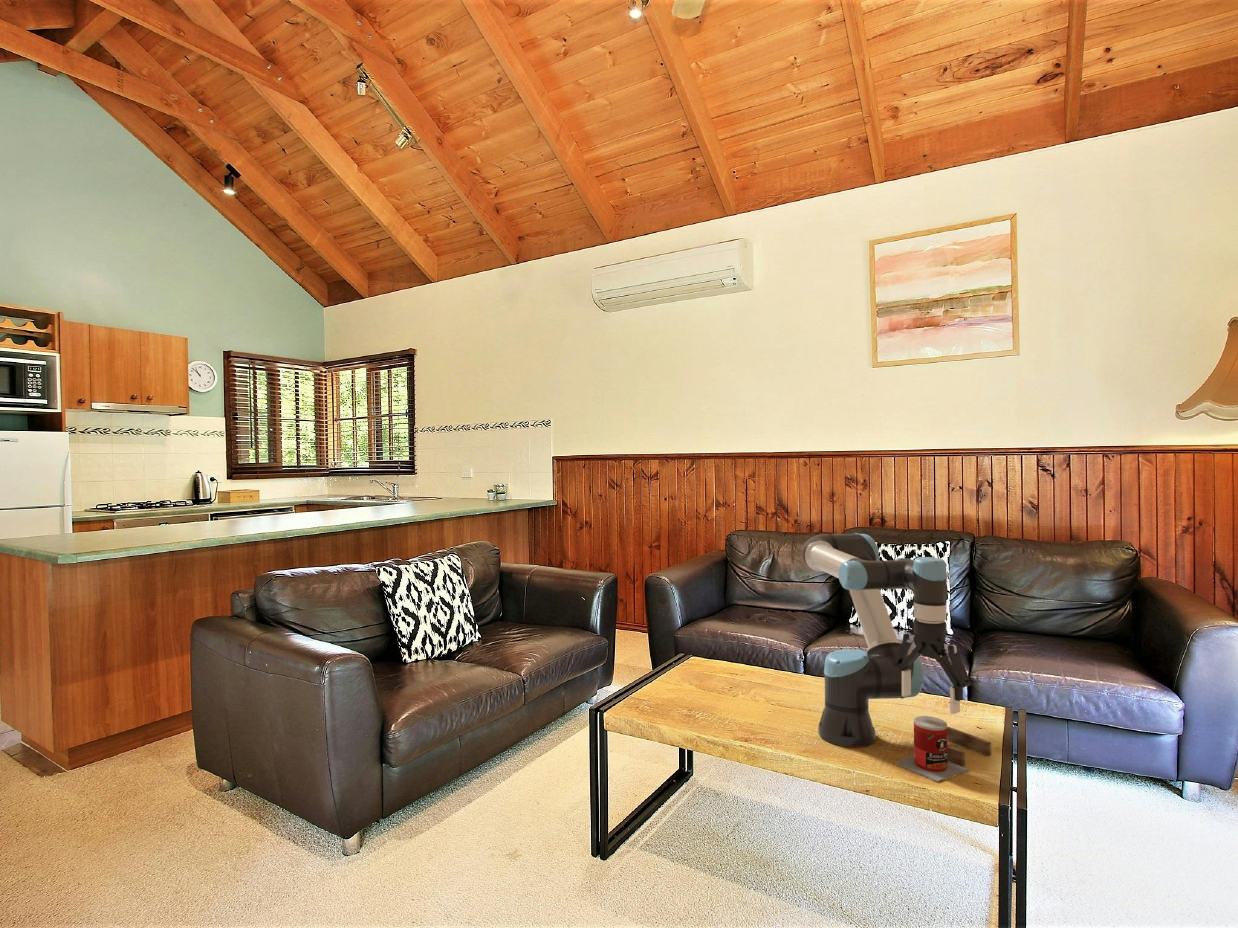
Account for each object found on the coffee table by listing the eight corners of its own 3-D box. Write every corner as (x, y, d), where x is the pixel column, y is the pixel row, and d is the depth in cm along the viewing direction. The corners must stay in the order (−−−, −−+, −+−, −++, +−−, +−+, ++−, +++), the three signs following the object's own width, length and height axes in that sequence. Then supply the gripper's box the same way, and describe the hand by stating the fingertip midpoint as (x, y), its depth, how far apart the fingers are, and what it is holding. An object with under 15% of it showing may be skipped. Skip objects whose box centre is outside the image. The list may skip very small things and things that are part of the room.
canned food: (929, 774, 165) (928, 729, 165) (906, 760, 173) (906, 717, 173) (955, 770, 167) (954, 725, 167) (932, 756, 175) (931, 714, 175)
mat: (894, 763, 172) (894, 761, 172) (924, 752, 178) (924, 751, 178) (937, 782, 162) (937, 780, 162) (967, 770, 168) (967, 768, 168)
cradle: (919, 749, 180) (919, 736, 180) (948, 739, 186) (948, 726, 186) (962, 766, 170) (962, 752, 170) (991, 755, 176) (991, 741, 176)
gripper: (987, 628, 161) (986, 717, 161) (897, 608, 182) (897, 686, 183) (968, 633, 157) (967, 723, 157) (878, 611, 179) (878, 691, 179)
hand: (929, 703), depth 170 cm, fingers open, 13 cm apart
